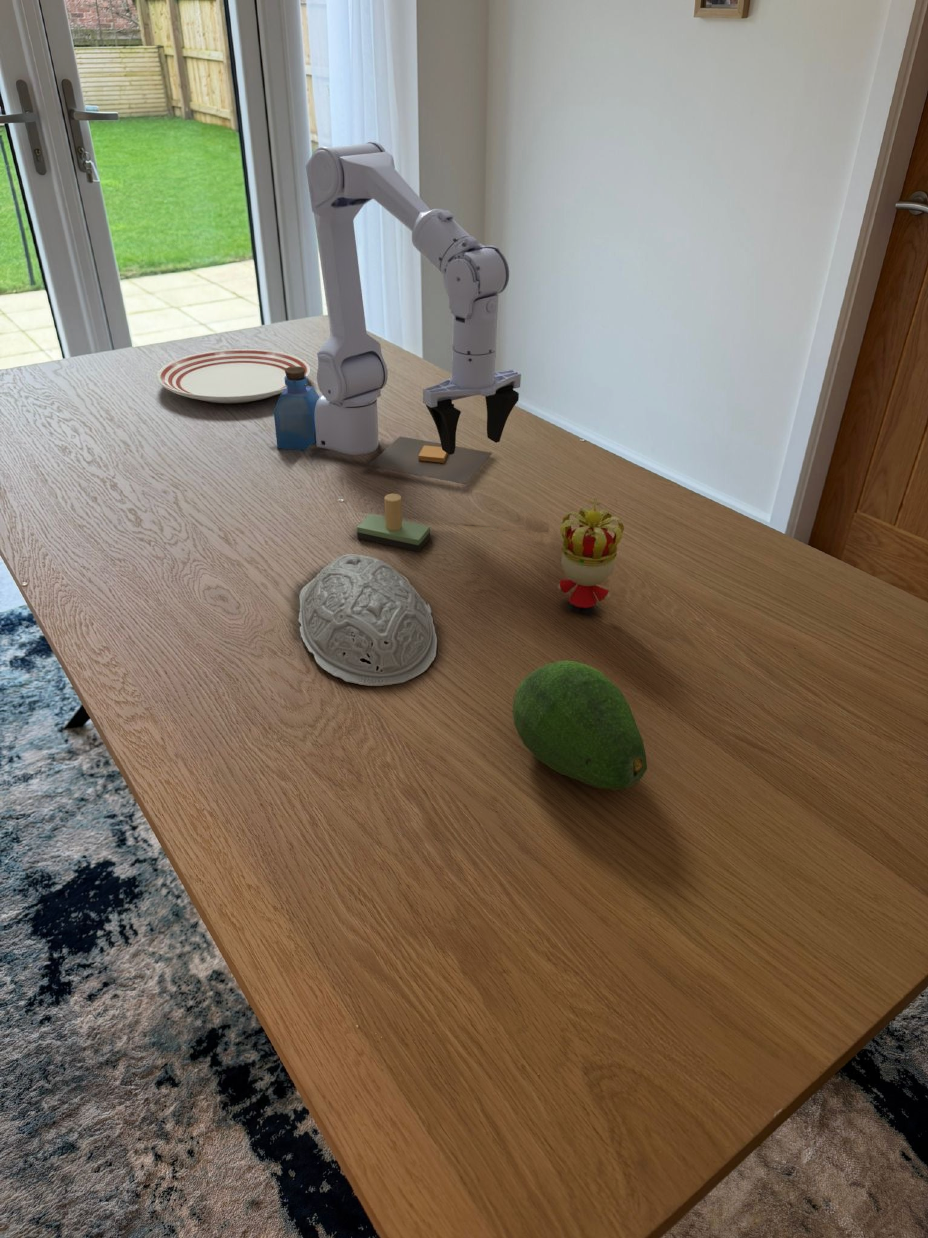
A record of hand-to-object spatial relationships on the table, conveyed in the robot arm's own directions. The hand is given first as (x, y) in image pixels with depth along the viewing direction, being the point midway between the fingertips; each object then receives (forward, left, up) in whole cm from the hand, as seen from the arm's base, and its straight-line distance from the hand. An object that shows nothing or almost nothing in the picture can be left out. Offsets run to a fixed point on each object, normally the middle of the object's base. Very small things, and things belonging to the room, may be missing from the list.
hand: (471, 445), depth 124 cm
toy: (+22, -20, -10) cm, 31 cm away
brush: (-6, -13, -9) cm, 17 cm away
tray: (-10, +10, -9) cm, 17 cm away
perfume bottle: (-33, +10, -10) cm, 36 cm away
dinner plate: (-56, +27, -10) cm, 63 cm away
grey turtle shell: (-1, -32, -10) cm, 33 cm away
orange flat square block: (-10, +11, -8) cm, 17 cm away
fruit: (+28, -46, -10) cm, 54 cm away
